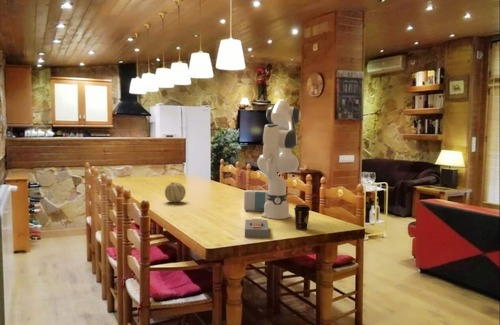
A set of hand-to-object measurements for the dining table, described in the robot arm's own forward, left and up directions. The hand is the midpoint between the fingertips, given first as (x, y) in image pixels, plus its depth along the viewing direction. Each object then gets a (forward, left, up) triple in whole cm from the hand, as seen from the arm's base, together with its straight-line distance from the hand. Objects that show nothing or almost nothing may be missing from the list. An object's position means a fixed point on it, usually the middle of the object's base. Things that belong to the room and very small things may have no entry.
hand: (270, 179), depth 222 cm
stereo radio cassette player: (-51, -4, -27) cm, 58 cm away
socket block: (+7, -7, -27) cm, 29 cm away
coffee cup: (-2, +18, -27) cm, 33 cm away
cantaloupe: (-74, -65, -27) cm, 102 cm away
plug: (+7, -7, -27) cm, 28 cm away
